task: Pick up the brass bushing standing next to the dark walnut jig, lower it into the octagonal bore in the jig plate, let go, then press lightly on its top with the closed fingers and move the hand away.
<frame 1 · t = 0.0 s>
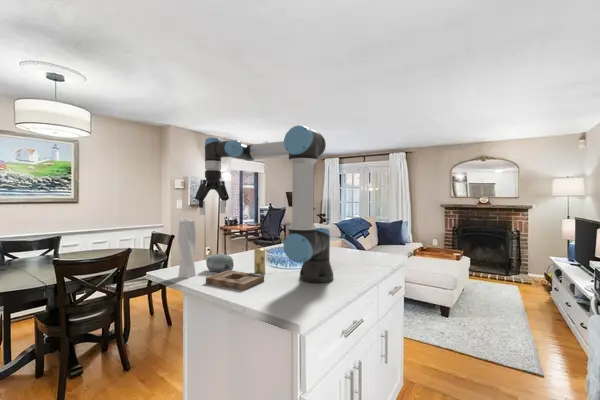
hand: (213, 214, 141), 28 cm above the countertop, fingers open, 13 cm apart
skyscraper: (186, 276, 133), on the countertop
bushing: (259, 274, 136), on the countertop
jig: (235, 282, 124), on the countertop
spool: (219, 271, 142), on the countertop
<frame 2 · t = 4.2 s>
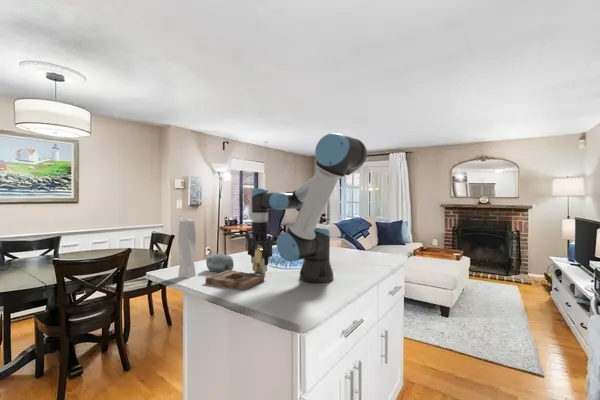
hand: (259, 270, 136), 2 cm above the countertop, fingers closed on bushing, 5 cm apart
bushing: (259, 274, 136), on the countertop, touching gripper
everything else where it was.
when the fingers open (3 cm above the countertop, at t = 9.7 s): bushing stays where it is, resting in jig.
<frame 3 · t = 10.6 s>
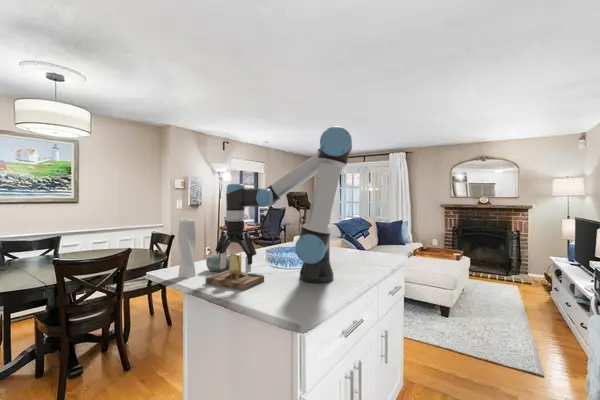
hand: (235, 270, 123), 5 cm above the countertop, fingers open, 13 cm apart
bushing: (235, 282, 124), resting in jig
everything else where it was.
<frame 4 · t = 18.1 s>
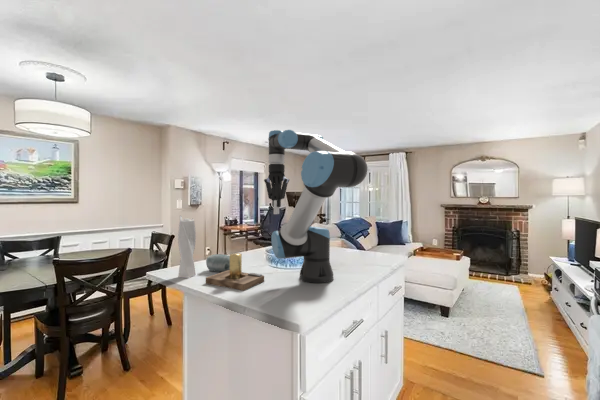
hand: (276, 214, 137), 28 cm above the countertop, fingers closed
nothing on the countertop moved.
at the end: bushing 0.0 cm off-centre on the jig, point 0.0 cm above the jig's base; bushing tilted 1°; the gripper is holding nothing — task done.
